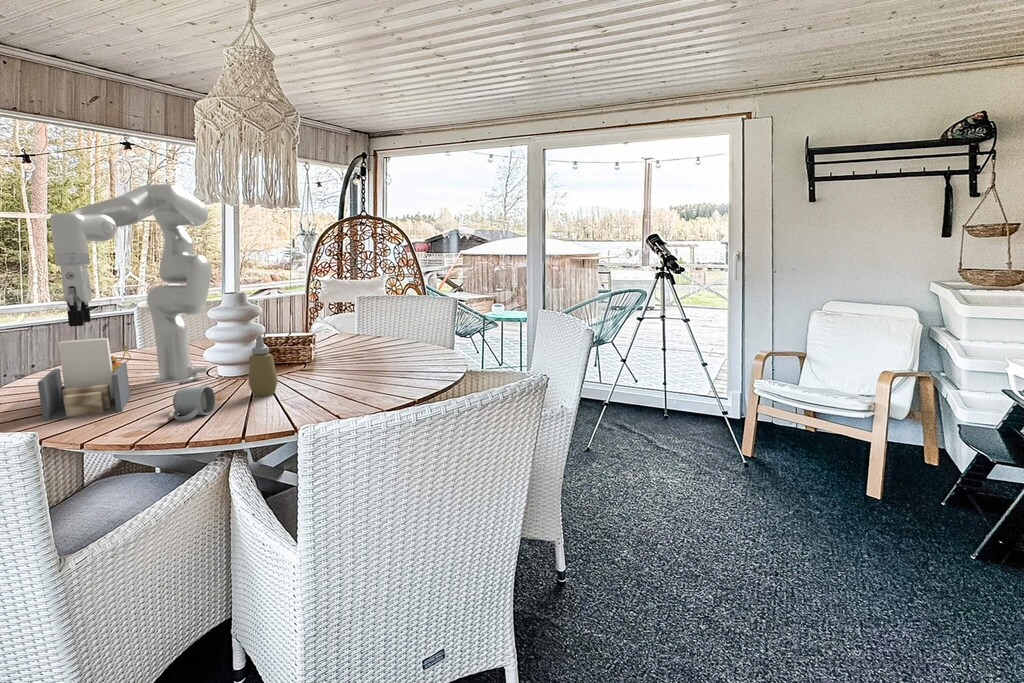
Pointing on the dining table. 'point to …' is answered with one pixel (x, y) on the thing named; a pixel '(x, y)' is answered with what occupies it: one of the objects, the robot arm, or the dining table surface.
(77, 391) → the oak offcut tall
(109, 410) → the rack
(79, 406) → the oak offcut short
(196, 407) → the ceramic mug
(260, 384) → the squeeze bottle
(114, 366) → the magic lamp
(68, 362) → the white panel
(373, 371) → the dining table surface
